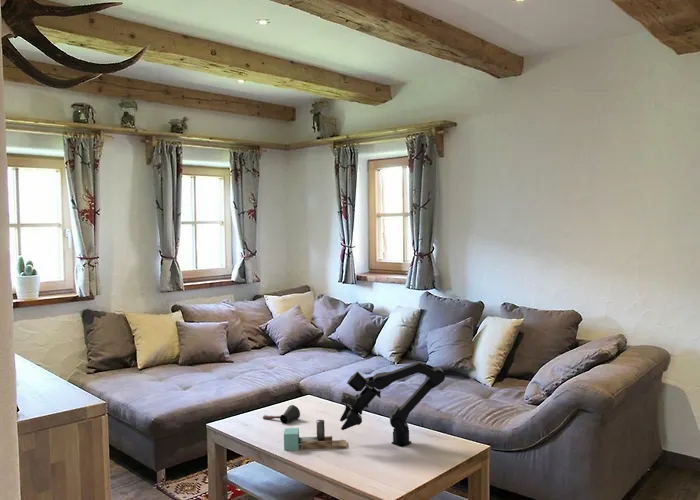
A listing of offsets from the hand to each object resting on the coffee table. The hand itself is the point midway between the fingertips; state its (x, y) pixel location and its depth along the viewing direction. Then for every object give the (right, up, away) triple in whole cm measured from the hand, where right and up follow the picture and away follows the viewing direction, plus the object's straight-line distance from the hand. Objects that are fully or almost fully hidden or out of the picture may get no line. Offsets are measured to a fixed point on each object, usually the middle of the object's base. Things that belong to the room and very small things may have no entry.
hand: (341, 425), depth 250 cm
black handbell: (-30, -8, +35) cm, 47 cm away
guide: (-7, -9, 0) cm, 12 cm away
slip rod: (-14, -8, -1) cm, 16 cm away
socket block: (-21, -9, -1) cm, 23 cm away
